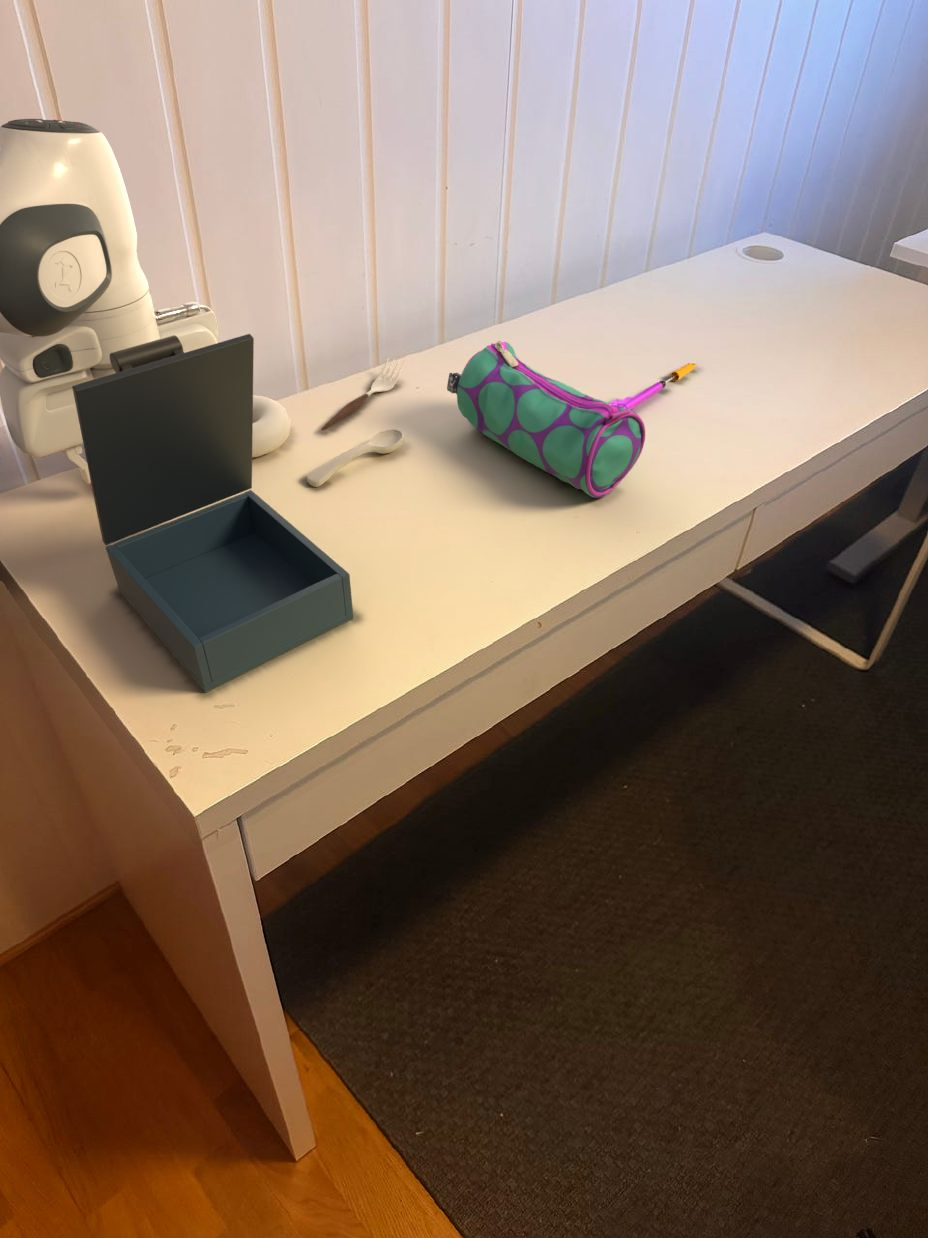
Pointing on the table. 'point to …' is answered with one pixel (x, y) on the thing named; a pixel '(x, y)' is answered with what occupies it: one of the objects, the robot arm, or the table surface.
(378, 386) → the fork
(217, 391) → the lid
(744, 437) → the table surface
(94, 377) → the robot arm
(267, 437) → the donut
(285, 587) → the teal shallow open box
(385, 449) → the spoon
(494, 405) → the pencil case
